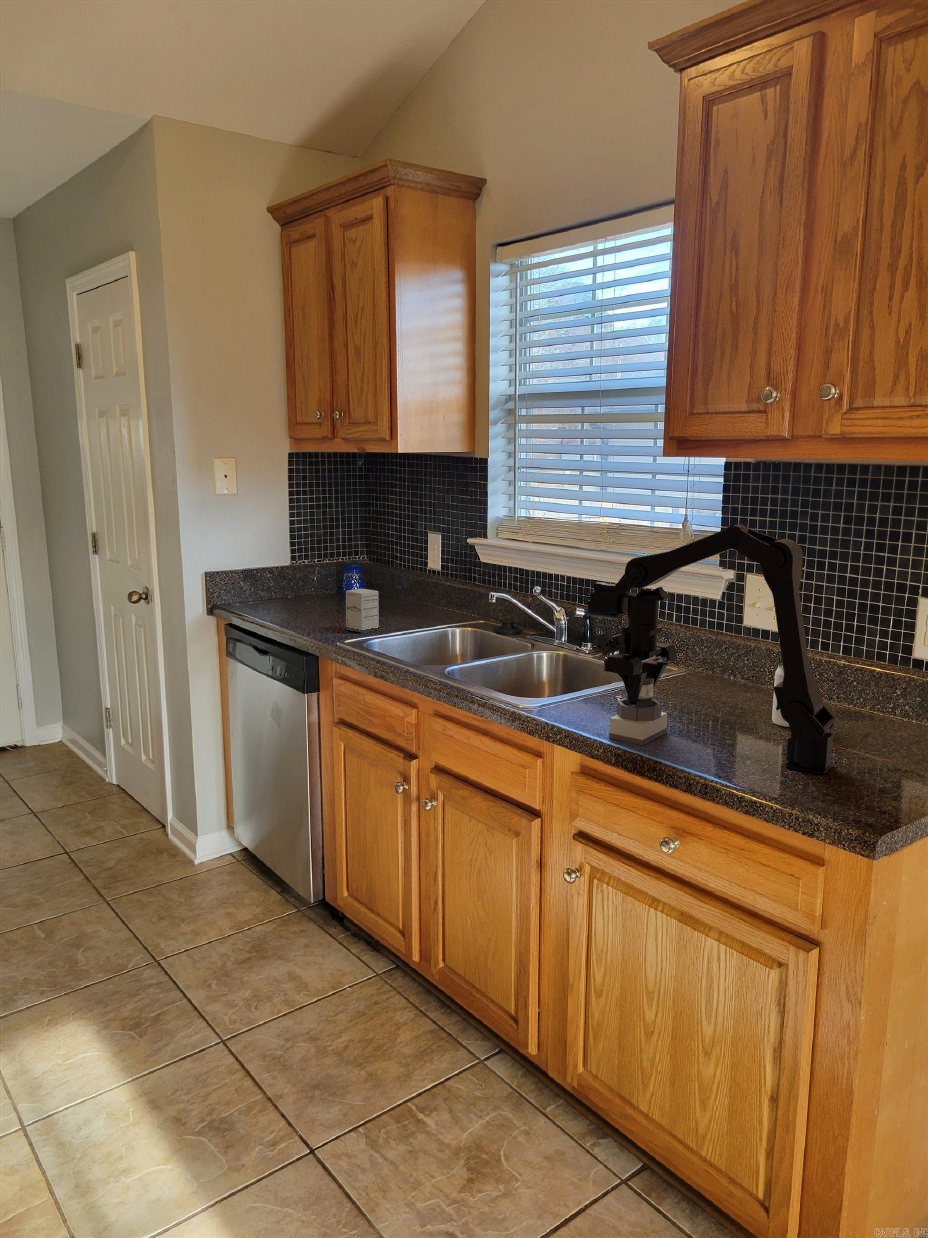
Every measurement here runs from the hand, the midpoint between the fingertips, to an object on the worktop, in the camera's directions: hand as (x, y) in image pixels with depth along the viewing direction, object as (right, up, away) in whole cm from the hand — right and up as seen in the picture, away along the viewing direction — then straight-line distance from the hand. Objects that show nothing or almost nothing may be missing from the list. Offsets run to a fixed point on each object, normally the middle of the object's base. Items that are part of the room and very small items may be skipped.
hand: (639, 701), depth 176 cm
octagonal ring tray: (0, -7, +1) cm, 7 cm away
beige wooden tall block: (-65, +12, +104) cm, 123 cm away
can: (+32, -6, +9) cm, 34 cm away
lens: (0, -1, 0) cm, 1 cm away
